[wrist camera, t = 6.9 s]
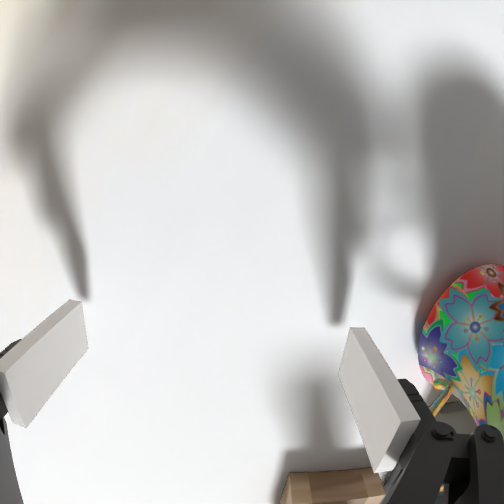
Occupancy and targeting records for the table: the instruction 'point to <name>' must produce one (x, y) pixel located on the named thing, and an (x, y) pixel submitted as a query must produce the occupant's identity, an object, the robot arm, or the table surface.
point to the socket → (333, 487)
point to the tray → (455, 418)
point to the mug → (468, 345)
